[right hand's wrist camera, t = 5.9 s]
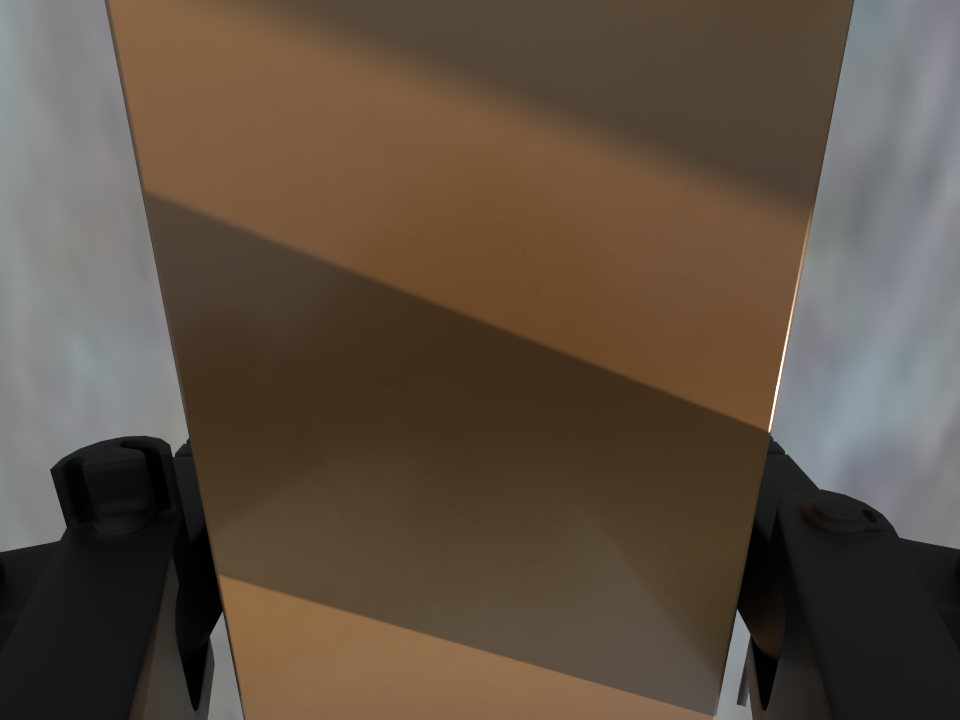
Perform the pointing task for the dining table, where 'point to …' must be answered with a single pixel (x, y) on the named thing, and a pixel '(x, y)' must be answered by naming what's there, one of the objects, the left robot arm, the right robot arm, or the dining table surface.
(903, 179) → the dining table surface
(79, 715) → the right robot arm
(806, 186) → the bar
